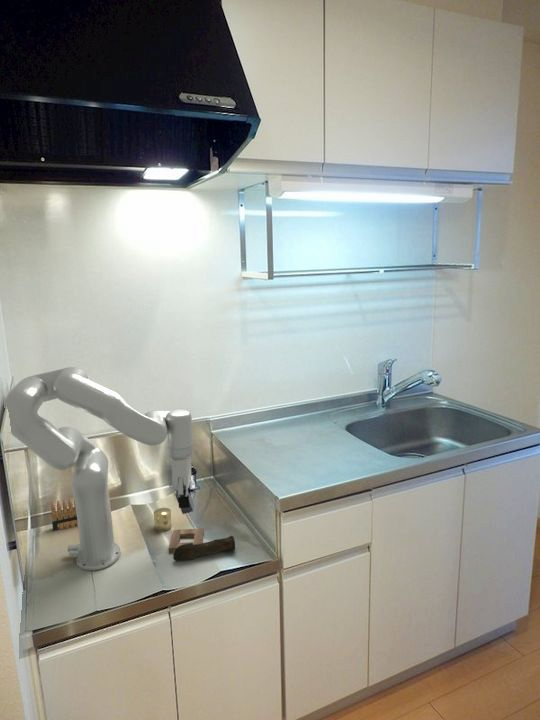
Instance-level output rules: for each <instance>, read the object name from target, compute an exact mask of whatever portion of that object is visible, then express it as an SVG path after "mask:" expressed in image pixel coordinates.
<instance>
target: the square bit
mask: <svg viewBox="0 0 540 720" xmlns="http://www.w3.org/2000/svg"><path fill="white" fill-rule="evenodd" d="M188 489H189V488H187V492H188V495H189V508H180V511H181V513H182V515H185V514H188V513H191V512H194V508H195V504H194V502H193V498H192V496H190V494H191V492H190V493H189V490H188ZM183 491H185V489H183ZM175 497H176V500H177V502H178V488H176V491H175Z"/></svg>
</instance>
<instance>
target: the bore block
mask: <svg viewBox="0 0 540 720" xmlns="http://www.w3.org/2000/svg"><path fill="white" fill-rule="evenodd" d="M204 535H205V529H204V527H202V528H201V527H200V528H199V527H198V528H185V529H183V528H182V529H172V533H171V537H170V542H169V545H168V553H169V554H171V553H172V554H174V552H175V550H176V548H178V546H181V545H184V544H189V543H193V545H194V544H201V543H204V542H203V541H204ZM190 538H191V539H192V538H193V541H190V542H189V541H186V542H181V539H190Z"/></svg>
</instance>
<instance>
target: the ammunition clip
mask: <svg viewBox="0 0 540 720" xmlns="http://www.w3.org/2000/svg"><path fill="white" fill-rule="evenodd" d="M67 502H68V504H67ZM67 502H66V499H65V498H63V500H62V506H61V502H60V500H59V499H57V502H56V505H55V502H54V501H53V500H52V501H51V504H50V509H51V510H50V515H51V516H50V517H51V521H52V522H51V524H52V531H53V532H55V531H58V530H63V529H68V528H70V527H71V528H74V527H78V521H77V514H76V506H75V500H74V499H73V502H72V499H71V498H70V497H69V498H68V501H67ZM67 505H68V506H67Z"/></svg>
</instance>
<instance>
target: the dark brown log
mask: <svg viewBox="0 0 540 720" xmlns="http://www.w3.org/2000/svg"><path fill="white" fill-rule="evenodd" d="M228 550H233V551H235V550H236V540H235V536H233V535H229V536H228V537H223V538H219V539H217V538H216V539H212V540H210V541H207V542H203V543H201V544H194V545H193V543H189V544H184V545H181V546H178V548H176V550H175V552H174V553H173V555H172V556H173V561H176V562H178V561H181V562H182V561H191V560H194V558H196V557H200V556H205V555H209V554H213V553H218V552H223V551H228Z"/></svg>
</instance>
